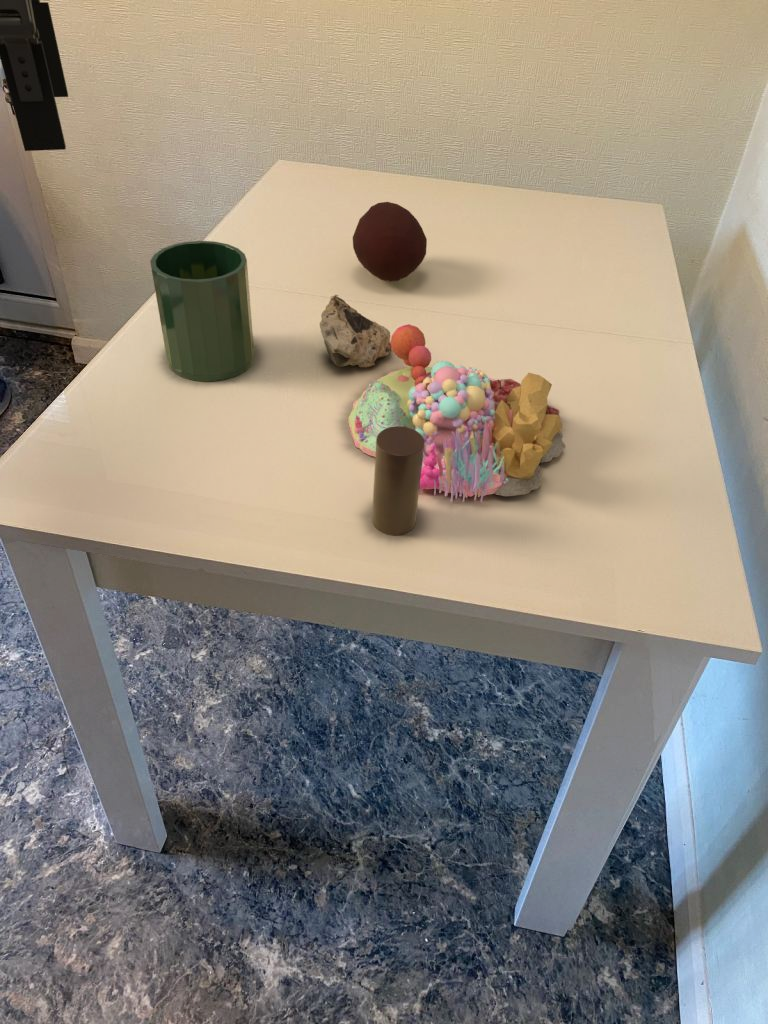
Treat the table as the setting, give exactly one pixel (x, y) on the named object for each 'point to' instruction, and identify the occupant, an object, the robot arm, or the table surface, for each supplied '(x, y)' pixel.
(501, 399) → the candy landscape model
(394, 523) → the post
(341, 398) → the table surface
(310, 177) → the table surface
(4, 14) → the robot arm
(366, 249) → the dark brown round lump
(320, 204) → the table surface
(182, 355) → the tube
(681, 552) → the table surface
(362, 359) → the rock
